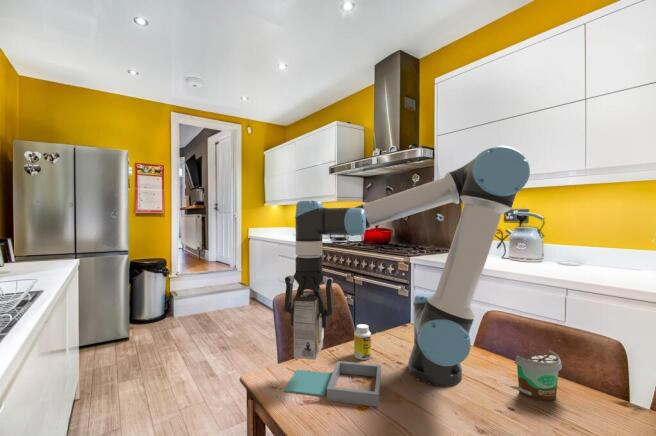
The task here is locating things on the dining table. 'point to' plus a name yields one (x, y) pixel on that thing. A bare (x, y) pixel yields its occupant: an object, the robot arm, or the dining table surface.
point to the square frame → (352, 394)
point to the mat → (309, 382)
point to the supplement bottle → (362, 342)
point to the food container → (538, 376)
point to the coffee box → (306, 326)
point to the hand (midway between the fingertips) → (308, 337)
